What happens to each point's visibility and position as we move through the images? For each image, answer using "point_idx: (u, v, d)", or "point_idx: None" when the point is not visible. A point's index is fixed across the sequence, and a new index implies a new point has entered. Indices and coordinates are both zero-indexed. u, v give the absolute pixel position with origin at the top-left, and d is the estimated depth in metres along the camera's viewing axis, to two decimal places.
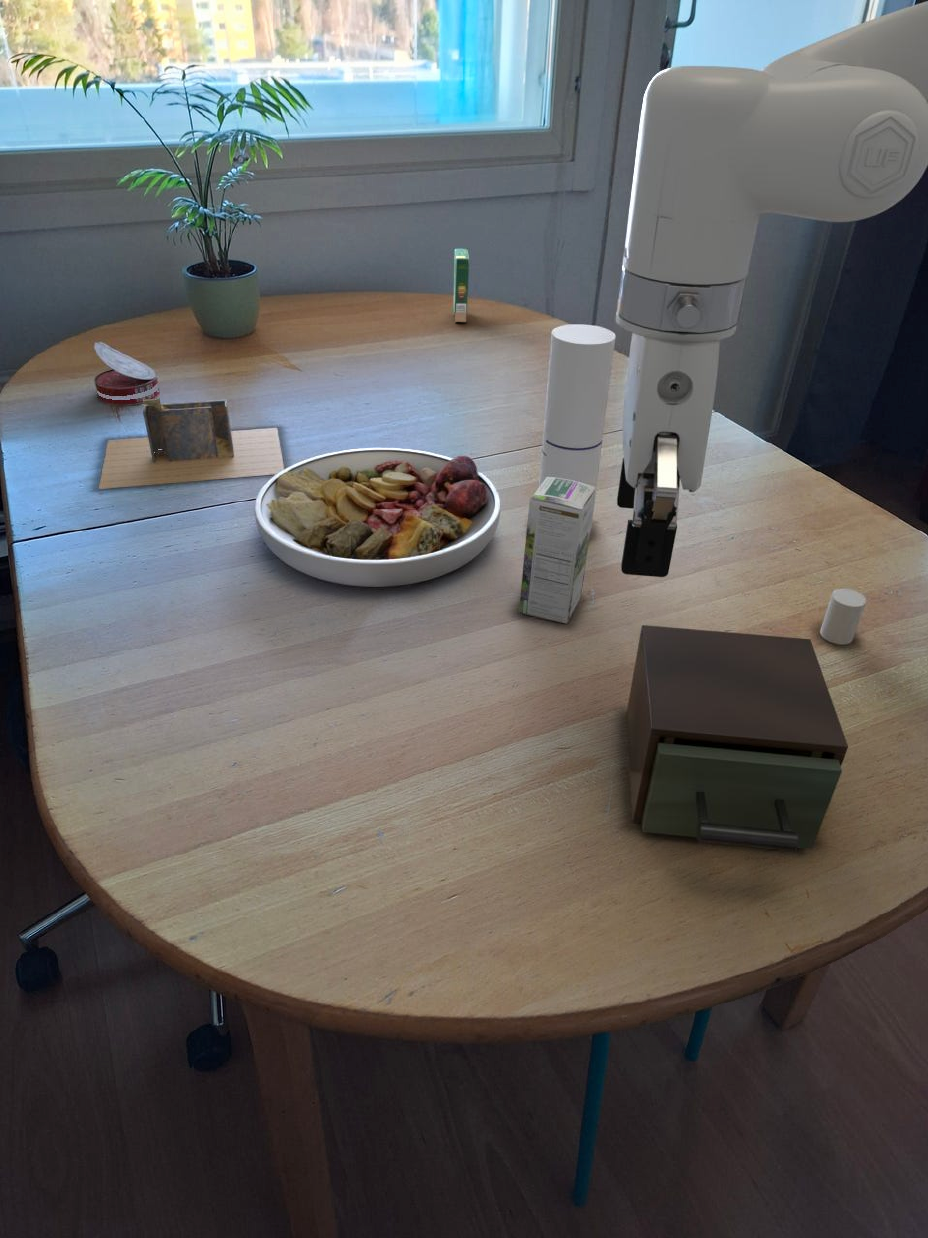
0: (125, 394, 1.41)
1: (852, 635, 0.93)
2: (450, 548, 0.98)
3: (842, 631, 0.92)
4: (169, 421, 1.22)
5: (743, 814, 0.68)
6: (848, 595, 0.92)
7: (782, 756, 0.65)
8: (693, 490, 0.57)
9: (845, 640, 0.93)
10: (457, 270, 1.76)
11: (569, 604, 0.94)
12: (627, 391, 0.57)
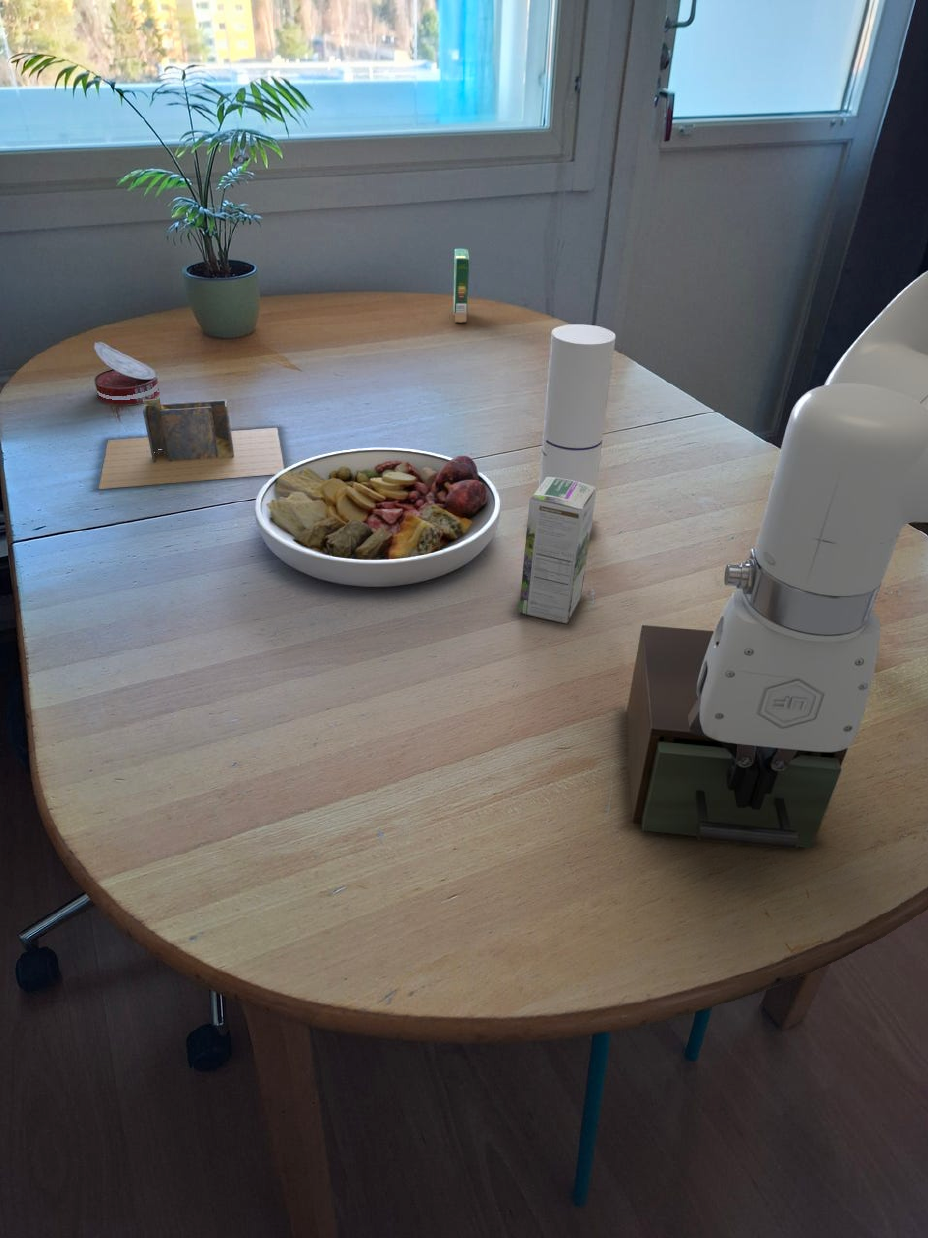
0: (125, 394, 1.41)
1: None
2: (450, 548, 0.98)
3: None
4: (169, 421, 1.22)
5: (743, 813, 0.68)
6: None
7: None
8: (703, 731, 0.59)
9: None
10: (457, 270, 1.76)
11: (569, 604, 0.94)
12: None
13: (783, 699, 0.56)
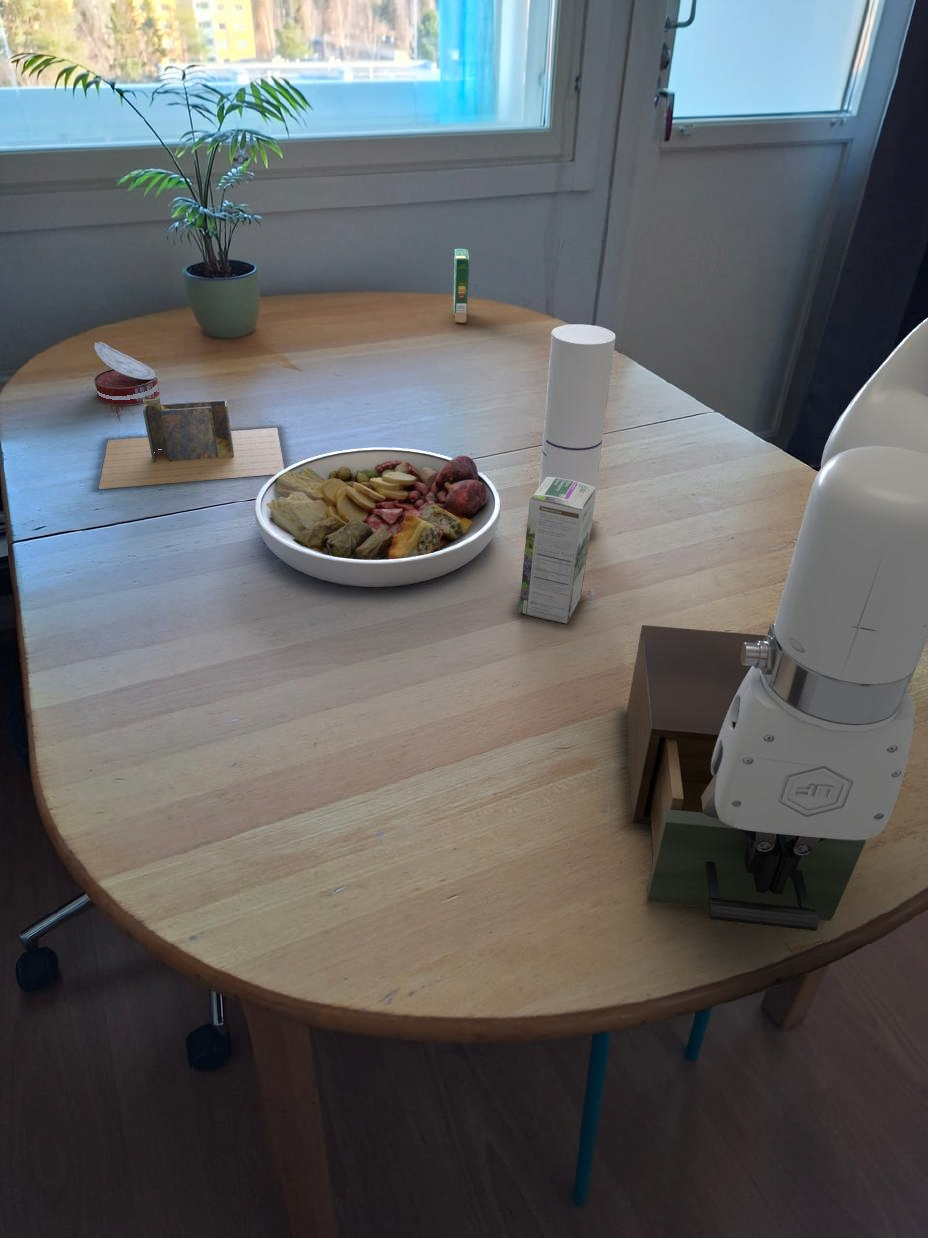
0: (125, 394, 1.41)
1: None
2: (450, 548, 0.98)
3: None
4: (169, 421, 1.22)
5: None
6: None
7: None
8: (718, 818, 0.54)
9: None
10: (457, 270, 1.76)
11: (569, 604, 0.94)
12: None
13: (807, 786, 0.51)
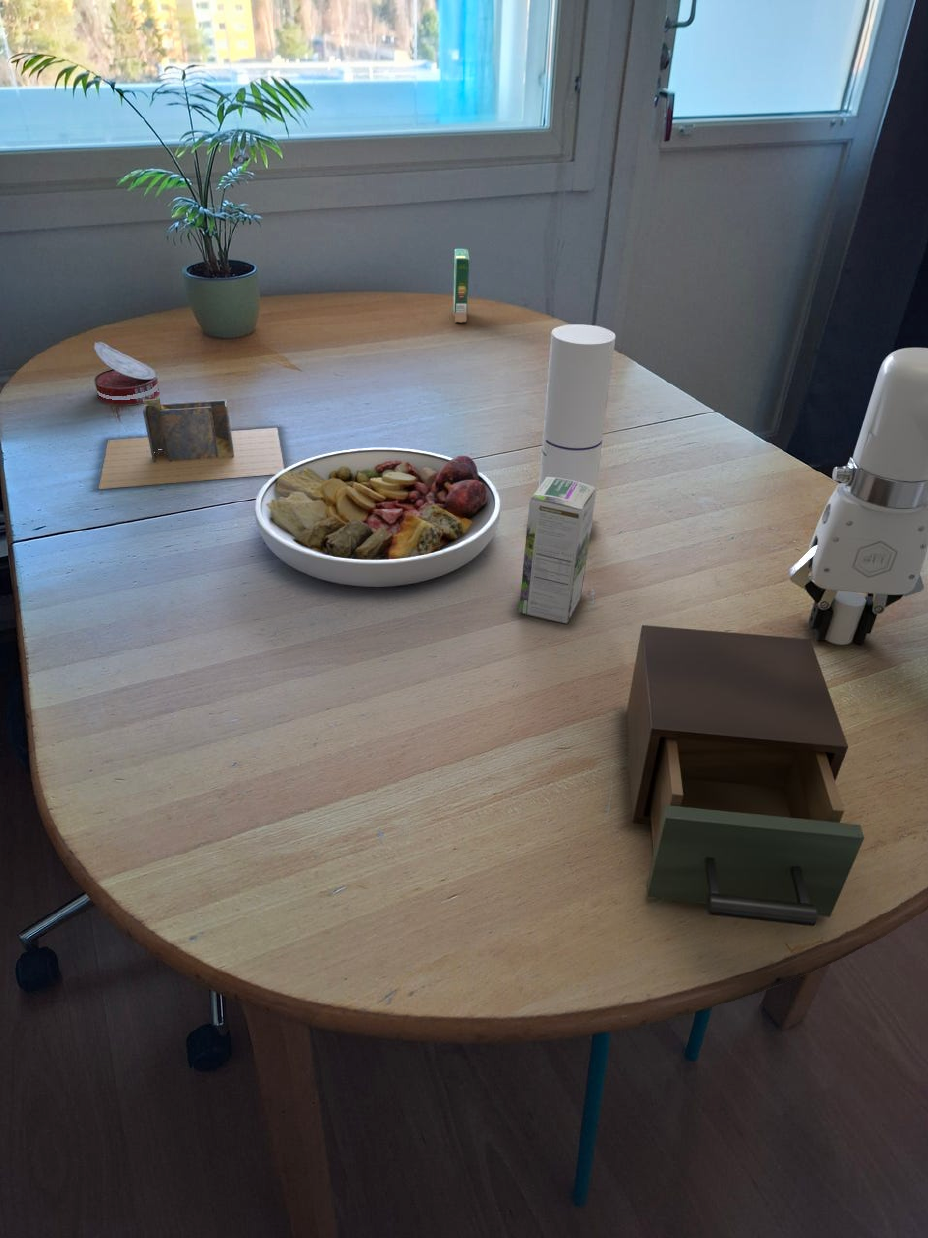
0: (125, 394, 1.41)
1: (852, 635, 0.93)
2: (450, 548, 0.98)
3: (842, 631, 0.92)
4: (169, 421, 1.22)
5: (756, 881, 0.63)
6: (848, 595, 0.92)
7: (799, 821, 0.60)
8: (814, 582, 0.89)
9: (845, 640, 0.93)
10: (457, 270, 1.76)
11: (569, 604, 0.94)
12: None
13: (870, 556, 0.86)
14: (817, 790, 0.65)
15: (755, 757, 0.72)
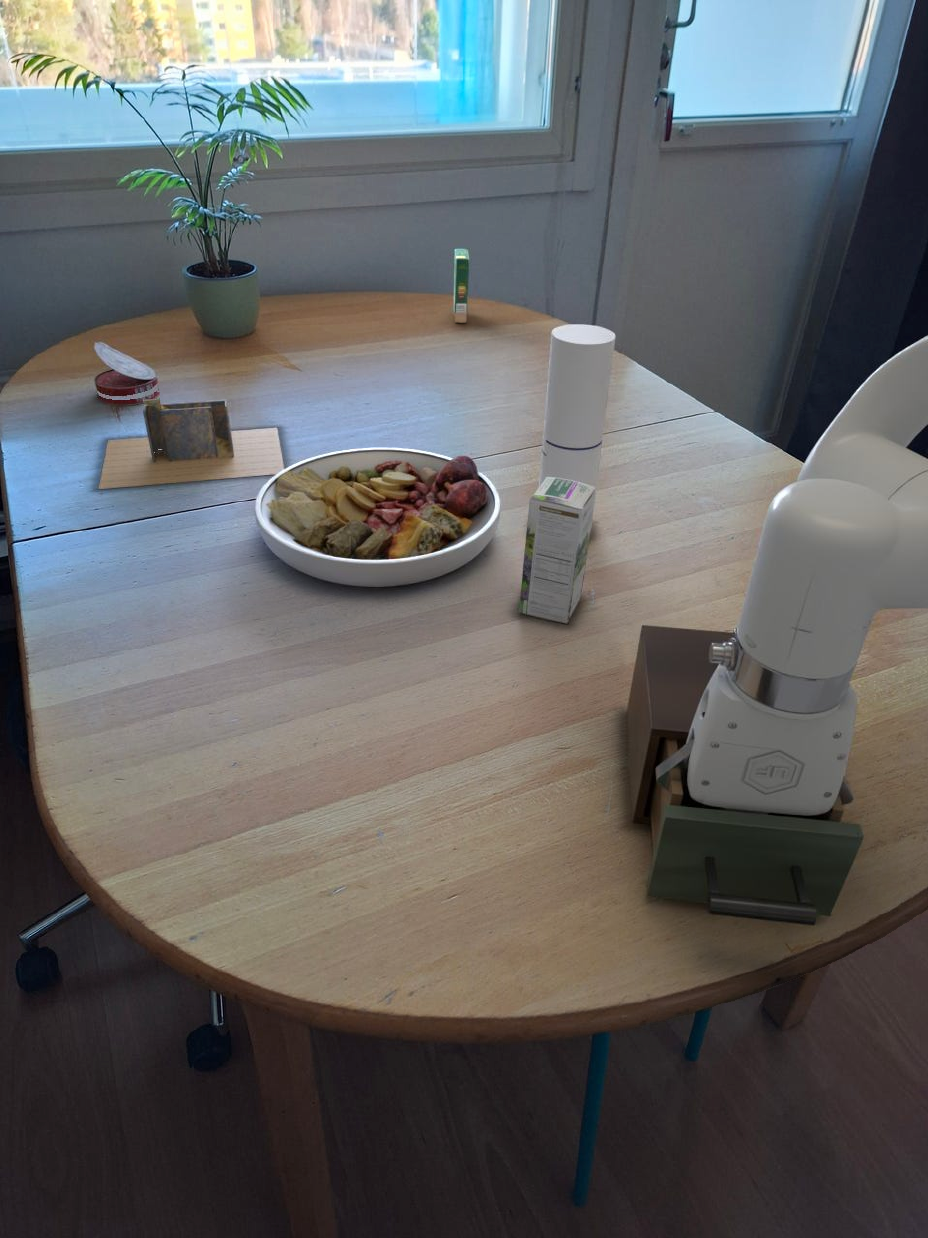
0: (125, 394, 1.41)
1: None
2: (450, 548, 0.98)
3: None
4: (169, 421, 1.22)
5: (756, 880, 0.63)
6: None
7: (799, 820, 0.60)
8: (690, 796, 0.62)
9: None
10: (457, 270, 1.76)
11: (569, 604, 0.94)
12: None
13: (766, 768, 0.59)
14: None
15: None
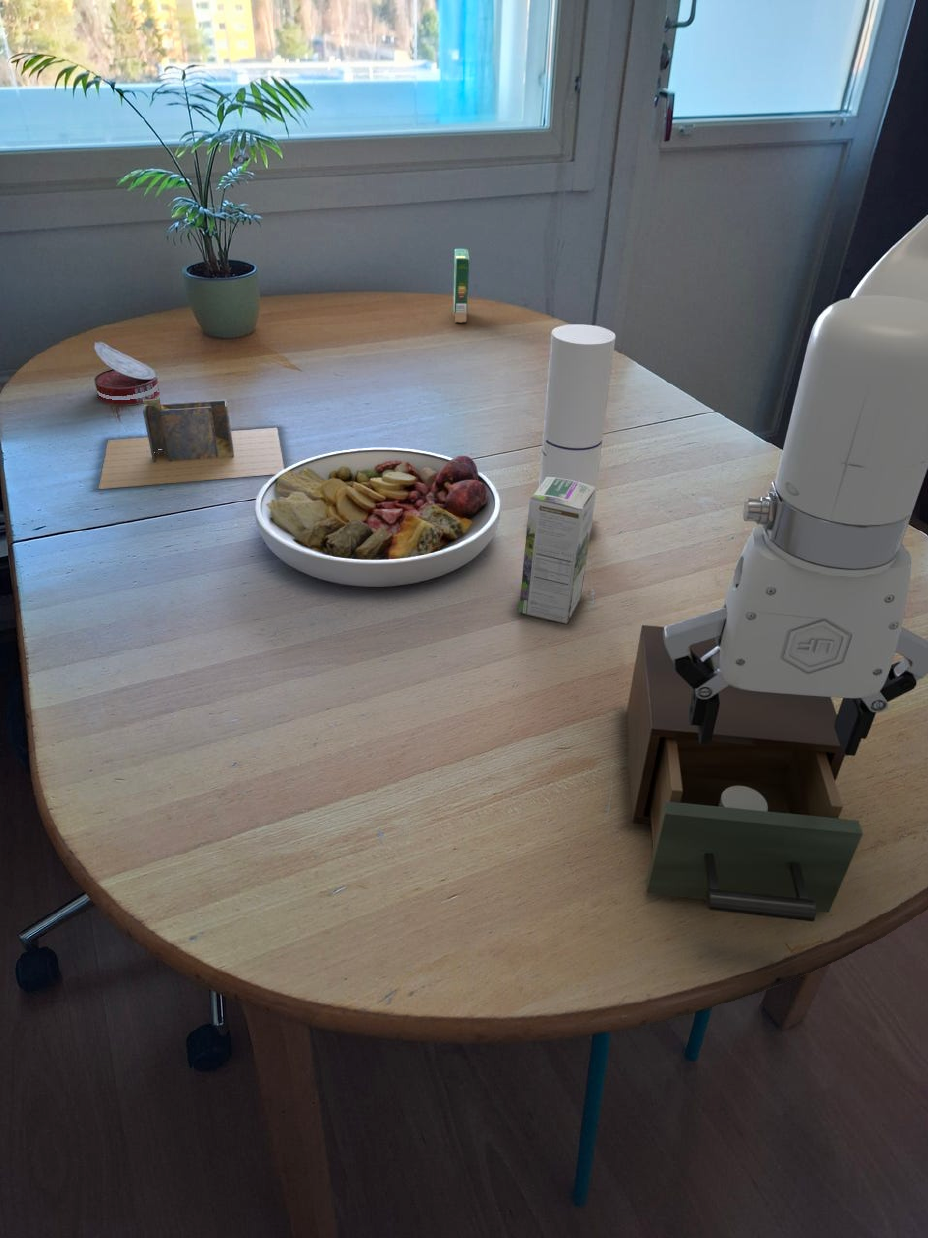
0: (125, 394, 1.41)
1: None
2: (450, 548, 0.98)
3: None
4: (169, 421, 1.22)
5: (755, 876, 0.63)
6: (743, 798, 0.66)
7: (798, 816, 0.61)
8: (723, 679, 0.56)
9: None
10: (457, 270, 1.76)
11: (569, 604, 0.94)
12: None
13: (808, 641, 0.53)
14: (816, 786, 0.65)
15: (754, 754, 0.72)
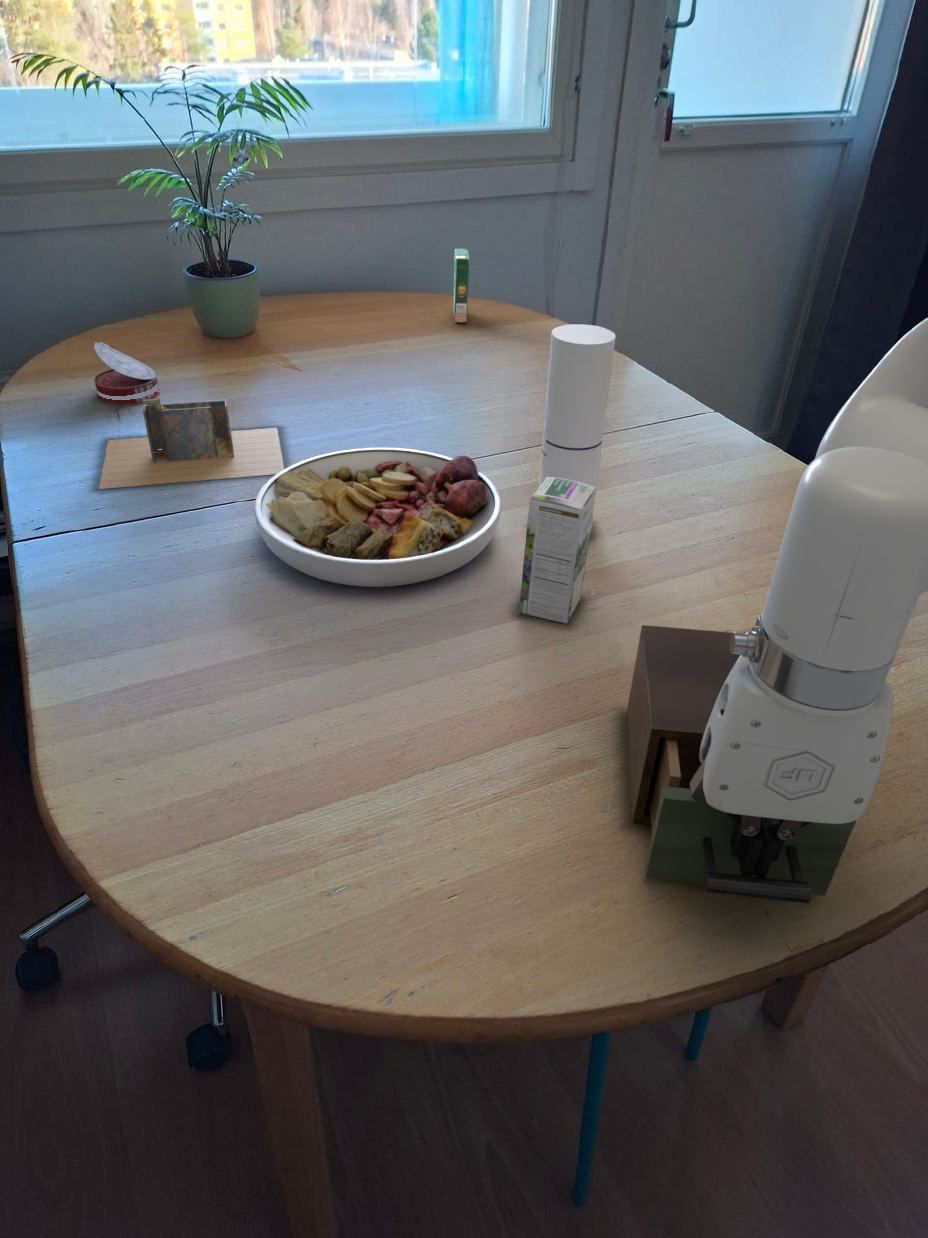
0: (125, 394, 1.41)
1: None
2: (450, 548, 0.98)
3: None
4: (169, 421, 1.22)
5: None
6: None
7: None
8: (706, 802, 0.56)
9: None
10: (457, 270, 1.76)
11: (569, 604, 0.94)
12: None
13: (791, 771, 0.53)
14: None
15: None
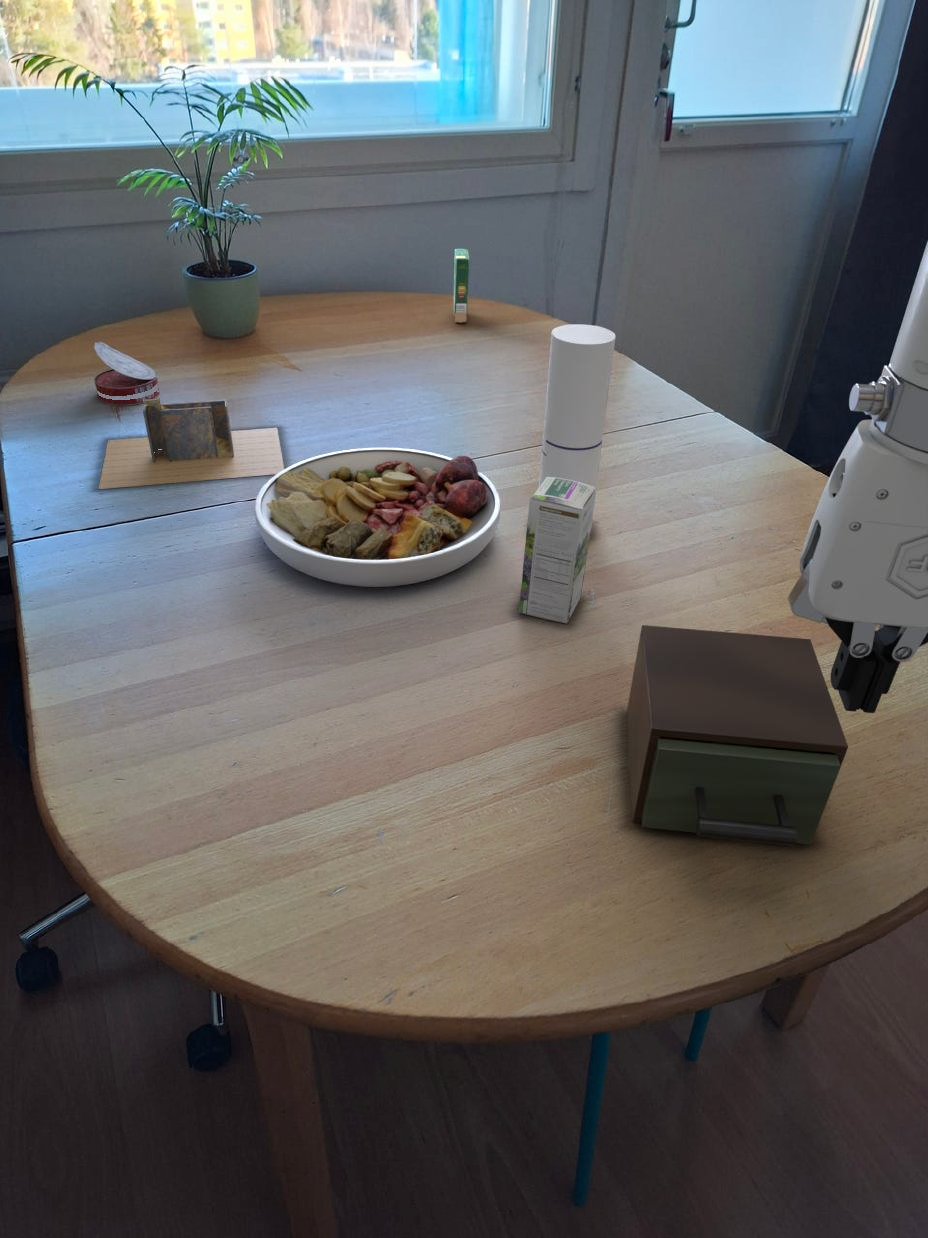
0: (125, 394, 1.41)
1: None
2: (450, 548, 0.98)
3: None
4: (169, 421, 1.22)
5: (742, 809, 0.68)
6: None
7: (781, 751, 0.66)
8: (814, 607, 0.48)
9: None
10: (457, 270, 1.76)
11: (569, 604, 0.94)
12: None
13: (921, 558, 0.45)
14: None
15: None
